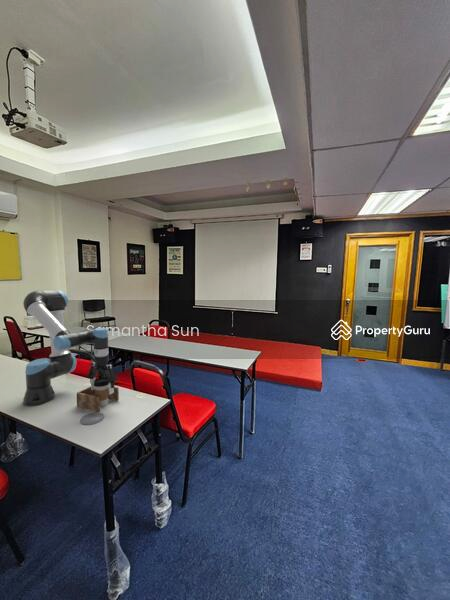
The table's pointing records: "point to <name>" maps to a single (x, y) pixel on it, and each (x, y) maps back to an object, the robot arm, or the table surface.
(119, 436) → the table surface
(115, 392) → the wooden c-shaped bracket
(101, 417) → the coaster
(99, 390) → the coffee cup
